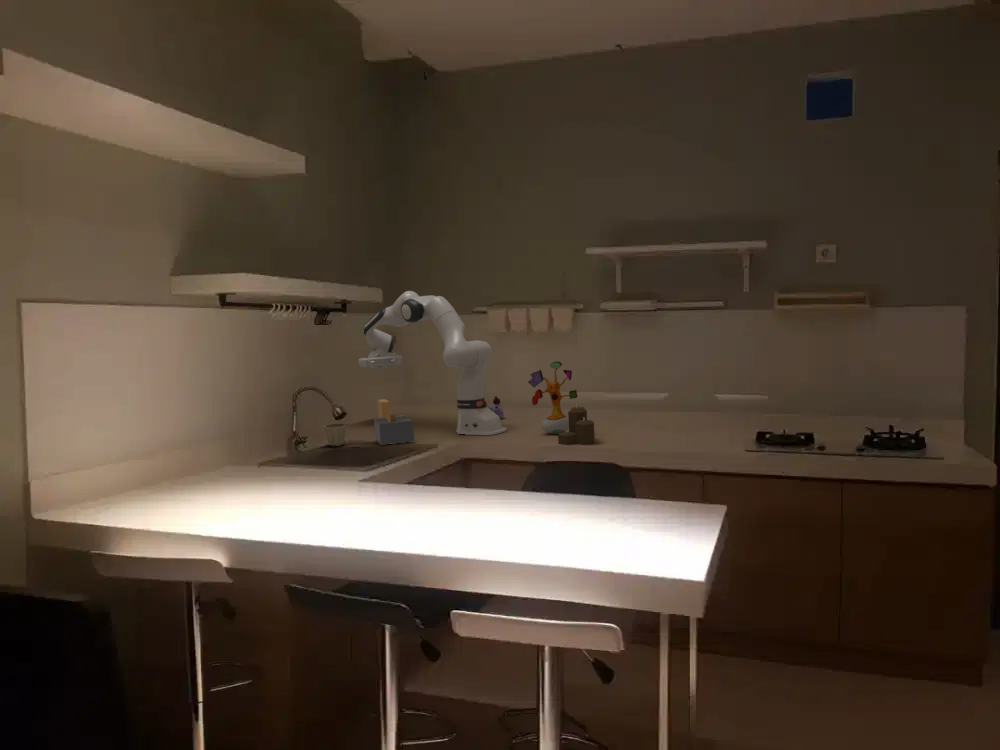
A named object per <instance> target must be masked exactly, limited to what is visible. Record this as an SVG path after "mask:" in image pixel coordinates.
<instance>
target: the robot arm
mask: <svg viewBox="0 0 1000 750" xmlns="http://www.w3.org/2000/svg"><path fill="white" fill-rule="evenodd" d="M423 321H425V322H426V321H432V323H433V325H434V326H435V328H436V330H437V332H439V335H440V336H441V338H442V340H443V343H444V351H443V355H442V358H443V362H444V363H445V366H447V367H449V368H452V369H459V370H460V369H462V372H461V376H459V378H458V379H457V382H456V388H457V389H456V391H457V400H456V407H457V424H456V430H455V432H456V433H457V435H459V434H465V435H469V436H493V435H494V436H495V435H497V434H501V433H502V434H503V433H504V432H507V427H506V426H505V427H504V426H502V421H501V419H500V418H499V416H498V415H496V414H495V413H494V412H493V411H492V410H490V409H489V408H488V407H487V406H488V403H489V400H488V399H487V400H485V398H484V375H485V371H486V367H487V365H488V363H489V362H490V360H491V359H492V357H493V349H492V347H491V345H490V344H489V343H488V342H487V341H484V340H477V339H476V340H475V339H474V340H468V341H467V340H466V339H465V336H464V332H465V330H466V327H465V325H466V324H464V322H463V321H462V319H461V317H460V316H459V314H458V313H457V311H456V309H455V308H454V306H453V305H452V304H451V303H450V302H449V301H448V300H447V299H446V298H445V297H444V296H442V295H439V294H429V295H419V294H418V293H417V292H416V291H413V290H407V291H405V292H403V293H402V294H400V295H399V297H398V298H397V299H396V300H395V301H394V302H393V304H392V305H390V306H387V307H382V308H381V309H379V310H378V311H377V312H375V313H374V315H372V316H371V317H370V318H369V319H368V320H367V321H365V323H366V325H365V328H364V334H365V336H366V340H367V343H368V345H369V347H370V348H369V349H370V350H372V349H373V350H372V351H371V352H370V354H369V355H368V358H365V357H361V358H358V361H359V362H358V363H357V364H358V367H359V368H368V367H369V366H370V367H369V368H371V369H374V370H377V371H379V370H383V369H386V368H390V367H396V366H397V365H402V364H403V356H402V355H400V354H398V353H396V351H395V352H394V351H393V350H394V345H395V342H394V337H393V336H392V335H390V334H389V333H386V332H384V331H382V330H379V329H377V327H378V326H381V325H388V326H394V327H397V328H399V327H400V328H401V327H405V326H407V325H408V324H410V323H417V322H418V323H419V322H423Z"/></svg>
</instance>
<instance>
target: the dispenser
mask: <svg viewBox="0 0 1000 750" xmlns="http://www.w3.org/2000/svg"><path fill="white" fill-rule="evenodd" d="M373 423H374V435H375V437H374V438H375V442H376V441H377V442H379V443H380V444H388V443H403V442H412V441H414V442H415V431H414V429H415V428H414V420H413V419H411V418H410V417H408V414H402V415H396V416H395V421H391V422H389V421H387V420H386V417H382V418H379V417H375V418H373ZM377 442H376V443H377Z"/></svg>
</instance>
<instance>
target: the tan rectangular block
mask: <svg viewBox="0 0 1000 750" xmlns="http://www.w3.org/2000/svg"><path fill="white" fill-rule="evenodd" d="M377 413H378V418H382V417H386V420H387V421H389V422H392V419H391V407H390V400H387V399H385V398H384V399H377Z"/></svg>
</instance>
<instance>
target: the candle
mask: <svg viewBox="0 0 1000 750" xmlns="http://www.w3.org/2000/svg"><path fill="white" fill-rule="evenodd" d="M578 405H579V404H578V402H576V404H575V407H571V408H570V410H569V411H568V416H567V417H568V418H569V429H568V430H567V431H565V432H563V433H559V434H557V439H558V440H557V441H558V442H557V443H558V445H562V446H570V445H581V446H582V445H583V446H586V445H594V444H595V422H594V421H593V420H592V419H588V410H587V409H586V408H585V407H583V406H578Z"/></svg>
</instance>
